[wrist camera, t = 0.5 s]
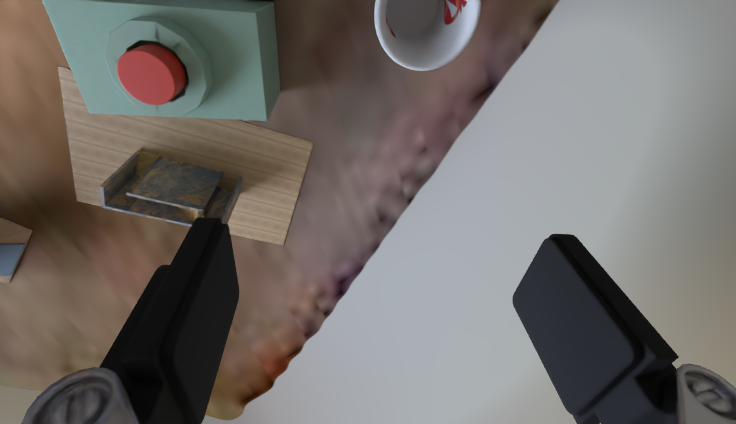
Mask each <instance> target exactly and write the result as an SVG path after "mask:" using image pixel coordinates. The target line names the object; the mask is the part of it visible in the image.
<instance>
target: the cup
mask: <svg viewBox="0 0 736 424" xmlns="http://www.w3.org/2000/svg"><path fill="white" fill-rule="evenodd" d="M480 12H481V0H376V1H375V9H374V21H375V28H376V33H377V36H378V39H379V41H380V43H381V45H382V47H383V49H384V50H385V52H386V53H387V54H388V55H389V57H390V58H391V59H393V60H394V61H395V62H396V63H398V64H399V65H401V66H403V67H405V68H408V69H411V70H417V71H427V70H433V69H436V68H439V67H442V66H444V65H446V64H448V63H449V62H451V61H452V60H454V59H455V58H456V57H457V56H458V55H459V54H460V53H461V52H462V51H463V50H464V49H465V48H466V46H467V45H468V43H469V42H470V40H471V39H472V37H473V35H474V33H475V30H476V28H477V25H478V22H479V17H480Z"/></svg>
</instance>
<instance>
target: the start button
mask: <svg viewBox="0 0 736 424" xmlns="http://www.w3.org/2000/svg"><path fill="white" fill-rule="evenodd" d="M117 73H118V77H119V80H120V82H121V84H122V85H123V87H124V88H125V89H126V91H127V92H128V93H129V94H130V95H132V96H133V97H134V98H136V99H137V100H139V101H141V102H143V103H146V104H150V105H162V104H165V103H167V102H169V101H170V100H171V99H172V98H174V97H175V96H176V95H177V94H179V93H180V92H181V91H182V89H183V88H184V86H185V82H186V76H185V71H184V68H183V66H182V64H181V62H180V61H179V60H178V58H177V57H176V56H175V55H174V54H173V53H171V52H170V51H169V50H167V49H166V48H164V47H161V46H159V45H155V44H145V45H141V46H139V47H137V48H134V49H132V50H130V51H127V52H125V53H124V54H123V55H122V56H121V57H120V59H119V61H118V64H117Z"/></svg>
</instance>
